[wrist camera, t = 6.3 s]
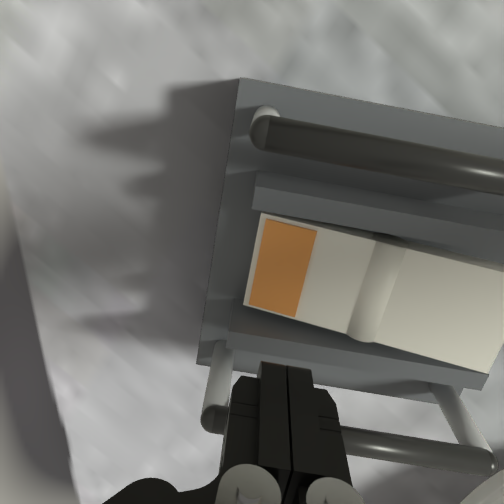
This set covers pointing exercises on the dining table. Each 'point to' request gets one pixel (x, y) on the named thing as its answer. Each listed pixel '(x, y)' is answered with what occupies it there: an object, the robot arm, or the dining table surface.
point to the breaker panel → (361, 217)
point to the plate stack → (488, 491)
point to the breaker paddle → (379, 289)
